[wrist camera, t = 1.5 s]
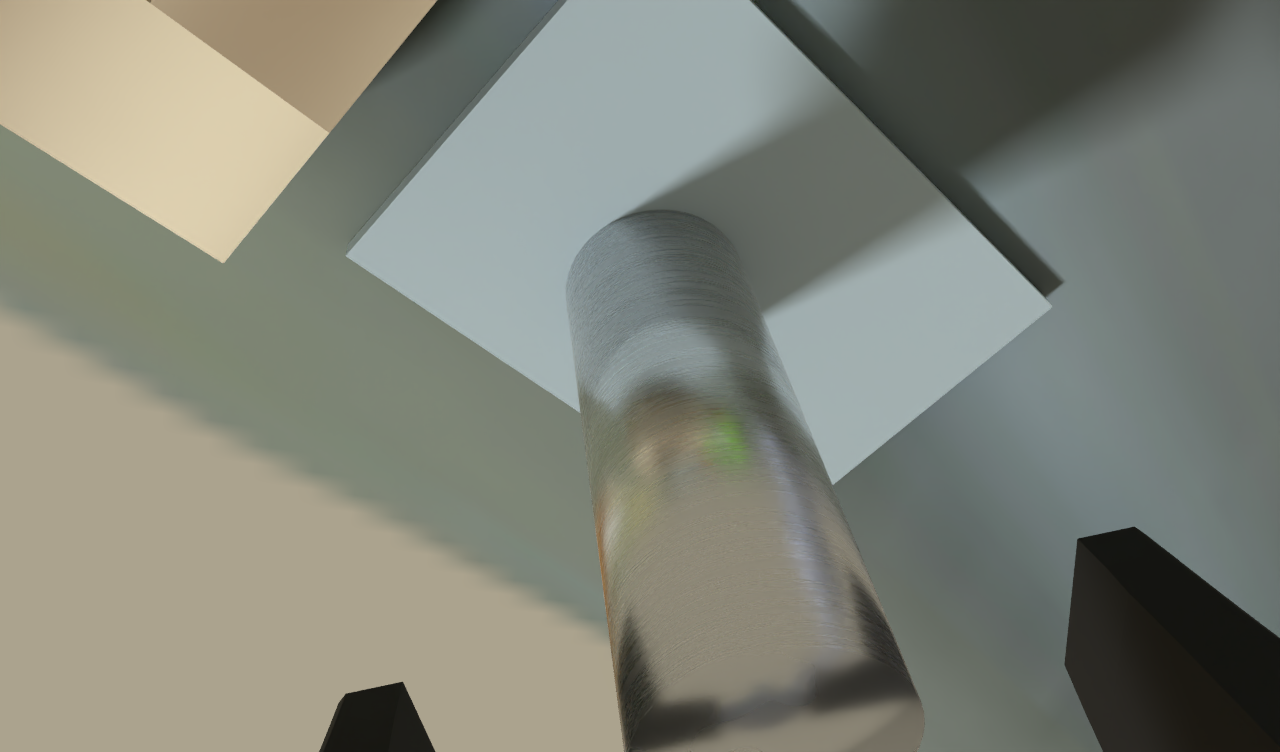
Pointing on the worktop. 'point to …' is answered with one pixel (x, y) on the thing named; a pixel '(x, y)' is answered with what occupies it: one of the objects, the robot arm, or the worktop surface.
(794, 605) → the peg
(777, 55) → the mat
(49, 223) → the worktop surface
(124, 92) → the block
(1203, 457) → the worktop surface
